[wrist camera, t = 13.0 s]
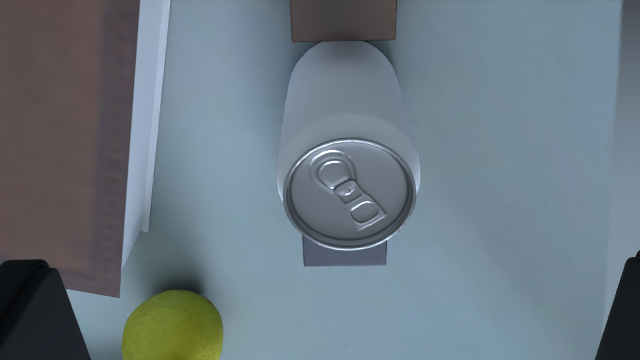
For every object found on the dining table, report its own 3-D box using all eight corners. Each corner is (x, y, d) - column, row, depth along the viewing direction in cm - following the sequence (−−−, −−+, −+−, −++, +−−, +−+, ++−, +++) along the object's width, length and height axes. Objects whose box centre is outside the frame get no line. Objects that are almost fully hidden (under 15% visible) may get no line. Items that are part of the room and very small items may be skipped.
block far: (381, 154, 37) (388, 197, 33) (379, 218, 40) (386, 266, 35) (303, 155, 37) (300, 198, 33) (306, 219, 40) (303, 267, 35)
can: (359, 12, 32) (373, 98, 22) (417, 101, 35) (454, 214, 25) (266, 75, 34) (240, 181, 24) (328, 154, 37) (329, 280, 27)
